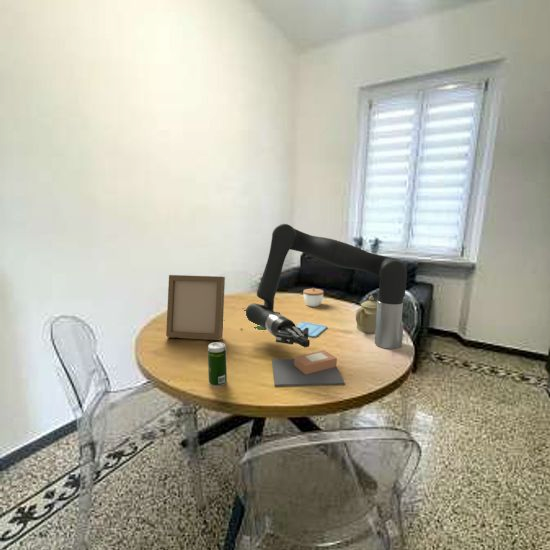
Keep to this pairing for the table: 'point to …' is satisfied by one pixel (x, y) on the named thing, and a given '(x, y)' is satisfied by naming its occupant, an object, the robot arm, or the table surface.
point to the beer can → (217, 364)
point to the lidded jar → (313, 297)
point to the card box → (315, 362)
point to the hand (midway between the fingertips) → (307, 344)
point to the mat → (303, 375)
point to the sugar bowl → (367, 316)
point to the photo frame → (195, 307)
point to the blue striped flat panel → (312, 328)
